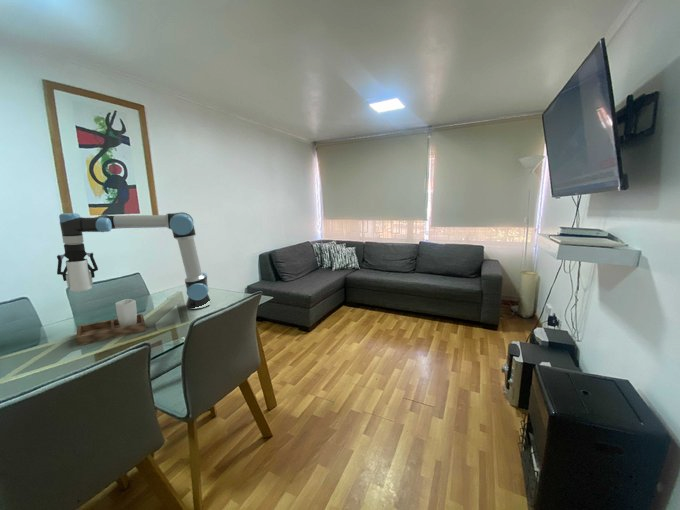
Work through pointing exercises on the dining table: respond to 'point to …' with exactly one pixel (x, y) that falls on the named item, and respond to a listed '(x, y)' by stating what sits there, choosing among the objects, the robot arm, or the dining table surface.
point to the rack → (107, 330)
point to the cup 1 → (78, 275)
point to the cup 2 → (126, 312)
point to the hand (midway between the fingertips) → (80, 284)
